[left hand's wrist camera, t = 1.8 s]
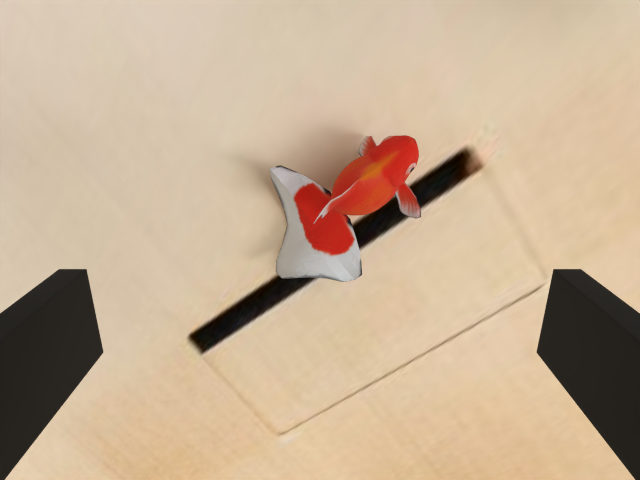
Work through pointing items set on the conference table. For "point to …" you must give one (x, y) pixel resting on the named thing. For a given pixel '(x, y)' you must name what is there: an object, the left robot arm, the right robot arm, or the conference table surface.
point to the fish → (341, 209)
